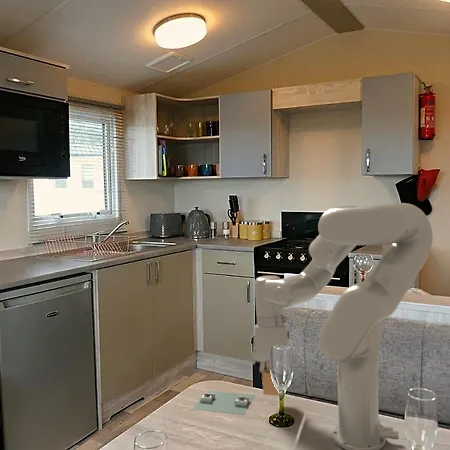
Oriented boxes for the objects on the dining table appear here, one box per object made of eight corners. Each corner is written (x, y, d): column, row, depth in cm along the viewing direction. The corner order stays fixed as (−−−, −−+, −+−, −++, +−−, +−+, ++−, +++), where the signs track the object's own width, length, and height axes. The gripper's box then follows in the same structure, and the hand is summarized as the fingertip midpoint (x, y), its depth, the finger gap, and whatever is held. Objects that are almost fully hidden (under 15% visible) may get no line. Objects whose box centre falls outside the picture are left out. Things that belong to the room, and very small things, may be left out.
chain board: (255, 397, 148) (255, 395, 148) (243, 417, 135) (243, 414, 135) (207, 393, 152) (207, 390, 152) (192, 411, 140) (192, 408, 140)
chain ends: (249, 401, 143) (249, 396, 143) (246, 406, 140) (246, 402, 140) (204, 397, 148) (203, 392, 147) (199, 401, 144) (199, 397, 144)
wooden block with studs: (285, 381, 142) (283, 359, 142) (277, 395, 133) (276, 371, 133) (271, 381, 144) (270, 358, 143) (263, 394, 134) (261, 370, 134)
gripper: (302, 317, 138) (306, 382, 139) (244, 317, 144) (248, 379, 144) (298, 324, 131) (302, 392, 132) (237, 323, 136) (241, 389, 137)
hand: (274, 384), depth 138 cm, fingers closed on wooden block with studs, 4 cm apart
